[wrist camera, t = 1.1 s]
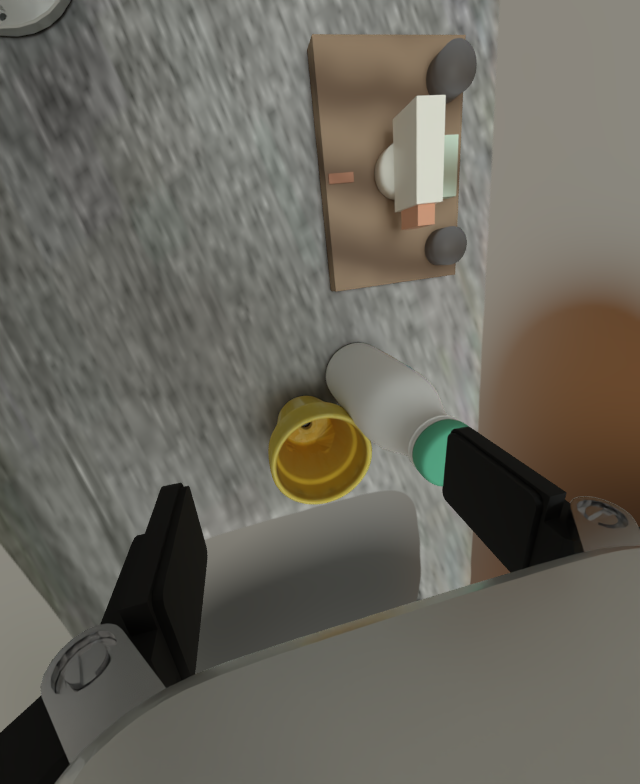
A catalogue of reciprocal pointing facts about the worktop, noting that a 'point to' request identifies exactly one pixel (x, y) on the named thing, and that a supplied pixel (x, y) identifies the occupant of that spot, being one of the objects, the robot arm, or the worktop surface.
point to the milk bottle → (392, 406)
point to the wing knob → (415, 161)
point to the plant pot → (317, 451)
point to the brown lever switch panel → (374, 135)
